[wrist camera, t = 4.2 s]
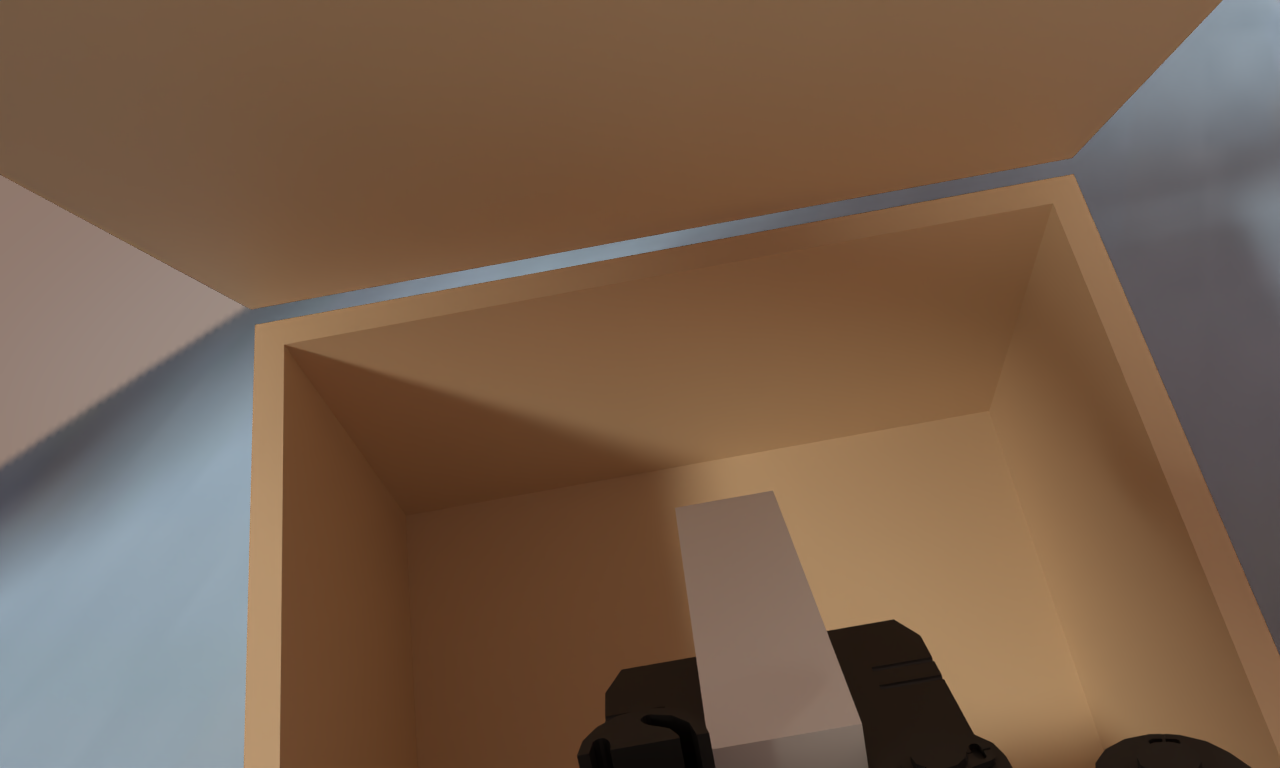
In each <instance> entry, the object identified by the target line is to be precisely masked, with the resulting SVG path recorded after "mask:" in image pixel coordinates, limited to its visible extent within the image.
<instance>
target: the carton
mask: <svg viewBox="0 0 1280 768" xmlns="http://www.w3.org/2000/svg"><path fill="white" fill-rule="evenodd" d="M767 491H773V492H774V494H775V497H776V500H777V502H778V505H779V507H780V510H781V513H782V515H783V518H784V521H785V523H786V526H787V528H788V531H789V534H790V536H791V539H792V542H793V544H794V547H795V549H796V552H797V555H798V557H799V560H800V563H801V565H802V568H803V570H804V573H805V576H806V578H807V581H808V584H809V586H810V589H811V591H812V594H813V597H814V599H815V602H816V605H817V607H818V610H819V612H820V615H821V618H822V620H823V623H824V625H825V628H826V631H829V630H835V629H841V628H846V627H852V626H858V625H864V624H869V623H875V622H881V621H887V620H892V619H894V620H896V621H898V622H899V623H901V624H903V625H904V626H906V627H907V628H909V629H911V630H912V631H914V632H916V633H917V634H919V635H920V636H921V637H922V639H923V641H924V643H925V645H926V647H927V648H928V650H929V652H930V654H931V656H932V659H933V661H935V663H936V665H937V667H938V669H939V670H940V672H941V674H942V678H943V679H944V680H945V682H946V683H947V685H948V687H949V689H950V691H951V693H952V694H953V696H954V698H955V700H956V702H957V704H958V705H959V707H960V709H961V711H962V713H963V715H964V716H965V718H966V720H967V722H968V724H969V726H970V727H971V729H972V731H973V733H974V734H975V735H977V736H979V737H981V738H983V739H986V740H988V741H990V742H992V743H994V744H995V745H996V746H997V747H998V748H999V749H1000V750H1001V751H1002V752H1003V753H1004V754H1005V755H1006V757H1007V759H1008V760H1009V762H1010V764H1011V766H1012V767H1013V768H1095V763H1096V761H1097V760H1098V759H1099V757H1100V756H1101V754H1102V753H1103V752H1104V750H1105V749H1106V748H1108V747H1110V746H1112V745H1114V744H1116V743H1118V742H1120V741H1122V740H1123V739H1127V738H1132V737H1137V736H1142V735H1147V734H1175V735H1182V736H1187V737H1191V738H1195V739H1200V740H1204V741H1207V742H1209V743H1211V744H1213V745H1216V746H1218V747H1220V748H1222V749H1224V750H1226V751H1228V752H1230V753H1231V754H1233V755H1234V756H1236V757H1237V758H1238V759H1240V760H1241V761H1243V762H1244V763H1246V764H1247V765H1249V766H1250V767H1251V768H1280V655H1279V653H1278V650H1277V648H1276V646H1275V643H1274V641H1273V639H1272V636H1271V634H1270V632H1269V629H1268V627H1267V625H1266V622H1265V620H1264V618H1263V615H1262V613H1261V611H1260V608H1259V606H1258V604H1257V601H1256V599H1255V597H1254V594H1253V592H1252V590H1251V587H1250V585H1249V583H1248V580H1247V578H1246V576H1245V573H1244V571H1243V569H1242V566H1241V564H1240V562H1239V559H1238V557H1237V555H1236V552H1235V550H1234V548H1233V545H1232V543H1231V541H1230V538H1229V536H1228V534H1227V531H1226V529H1225V527H1224V524H1223V522H1222V520H1221V517H1220V515H1219V513H1218V510H1217V508H1216V506H1215V503H1214V501H1213V499H1212V496H1211V494H1210V492H1209V489H1208V487H1207V485H1206V482H1205V480H1204V478H1203V475H1202V473H1201V471H1200V468H1199V466H1198V464H1197V461H1196V459H1195V457H1194V454H1193V452H1192V450H1191V447H1190V445H1189V443H1188V440H1187V438H1186V436H1185V433H1184V431H1183V429H1182V426H1181V424H1180V421H1179V419H1178V417H1177V414H1176V412H1175V410H1174V407H1173V405H1172V403H1171V400H1170V398H1169V396H1168V393H1167V391H1166V389H1165V386H1164V384H1163V382H1162V379H1161V377H1160V375H1159V372H1158V370H1157V368H1156V365H1155V363H1154V361H1153V358H1152V356H1151V354H1150V351H1149V349H1148V347H1147V344H1146V342H1145V340H1144V337H1143V335H1142V333H1141V330H1140V328H1139V326H1138V323H1137V321H1136V319H1135V316H1134V314H1133V312H1132V309H1131V307H1130V305H1129V302H1128V300H1127V298H1126V295H1125V293H1124V291H1123V288H1122V286H1121V284H1120V281H1119V279H1118V277H1117V274H1116V272H1115V270H1114V267H1113V265H1112V263H1111V260H1110V258H1109V256H1108V253H1107V251H1106V249H1105V246H1104V244H1103V242H1102V239H1101V237H1100V235H1099V232H1098V230H1097V228H1096V225H1095V223H1094V221H1093V218H1092V216H1091V214H1090V211H1089V209H1088V207H1087V204H1086V202H1085V200H1084V197H1083V195H1082V193H1081V190H1080V188H1079V186H1078V183H1077V181H1076V179H1075V176H1074V174H1071V175H1066V176H1060V177H1055V178H1050V179H1044V180H1039V181H1033V182H1028V183H1022V184H1017V185H1012V186H1006V187H1001V188H995V189H990V190H984V191H979V192H974V193H968V194H963V195H957V196H952V197H946V198H941V199H936V200H930V201H925V202H919V203H914V204H908V205H903V206H898V207H892V208H887V209H881V210H876V211H870V212H865V213H860V214H854V215H849V216H843V217H838V218H832V219H827V220H822V221H816V222H811V223H805V224H800V225H794V226H789V227H784V228H778V229H773V230H767V231H762V232H756V233H751V234H745V235H740V236H735V237H729V238H724V239H718V240H713V241H707V242H702V243H697V244H691V245H686V246H680V247H675V248H669V249H664V250H659V251H653V252H648V253H642V254H637V255H631V256H626V257H621V258H615V259H610V260H604V261H599V262H593V263H588V264H583V265H577V266H572V267H566V268H561V269H555V270H550V271H545V272H539V273H534V274H528V275H523V276H517V277H512V278H507V279H501V280H496V281H490V282H485V283H479V284H474V285H469V286H463V287H458V288H452V289H447V290H441V291H436V292H431V293H425V294H420V295H414V296H409V297H403V298H398V299H393V300H387V301H382V302H376V303H371V304H365V305H360V306H355V307H349V308H344V309H338V310H333V311H327V312H322V313H317V314H311V315H306V316H300V317H295V318H289V319H284V320H279V321H273V322H268V323H262V324H257V325H255V348H254V387H253V427H252V466H251V506H250V545H249V584H248V624H247V663H246V703H245V742H244V768H579V763H578V759H577V754H578V751H579V749H580V746H581V743H582V741H583V740H584V739H585V738H586V737H587V736H588V735H589V734H590V733H591V732H592V731H593V730H594V729H595V728H596V727H598V726H599V725H601V724H603V723H605V721H606V720H605V693H606V691H607V690H608V688H609V687H610V685H611V684H612V683H613V681H614V680H615V678H616V677H617V675H618V674H619V672H620V671H621V670H622V669H627V668H633V667H639V666H645V665H650V664H656V663H662V662H668V661H674V660H679V659H685V658H691V657H696V653H695V646H694V639H693V632H692V625H691V618H690V611H689V604H688V597H687V590H686V582H685V575H684V568H683V561H682V554H681V547H680V540H679V533H678V526H677V519H676V512H675V508H677V507H683V506H688V505H694V504H700V503H705V502H711V501H717V500H722V499H728V498H734V497H739V496H745V495H751V494H756V493H762V492H767Z"/></svg>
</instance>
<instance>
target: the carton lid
mask: <svg viewBox="0 0 1280 768" xmlns="http://www.w3.org/2000/svg"><path fill="white" fill-rule="evenodd" d="M1221 1H1222V0H0V175H2V176H3V177H5V178H8V179H9V180H11V181H13V182H15V183H16V184H18V185H20V186H22V187H24V188H26V189H28V190H29V191H31V192H33V193H35V194H37V195H39V196H41V197H43V198H45V199H46V200H48V201H50V202H52V203H54V204H56V205H57V206H59V207H61V208H63V209H65V210H67V211H69V212H70V213H72V214H74V215H76V216H78V217H80V218H82V219H84V220H85V221H87V222H89V223H91V224H93V225H95V226H97V227H98V228H100V229H102V230H104V231H106V232H108V233H109V234H111V235H113V236H115V237H117V238H119V239H121V240H123V241H125V242H126V243H128V244H130V245H132V246H134V247H136V248H137V249H139V250H141V251H143V252H145V253H147V254H149V255H150V256H152V257H154V258H156V259H158V260H160V261H162V262H163V263H165V264H167V265H169V266H171V267H173V268H175V269H176V270H178V271H180V272H182V273H184V274H186V275H188V276H190V277H191V278H193V279H195V280H197V281H199V282H201V283H203V284H204V285H206V286H208V287H210V288H212V289H214V290H216V291H217V292H219V293H221V294H223V295H225V296H227V297H229V298H230V299H232V300H234V301H236V302H238V303H240V304H242V305H243V306H245V307H247V308H249V309H257V308H262V307H267V306H273V305H278V304H284V303H289V302H295V301H300V300H305V299H311V298H316V297H322V296H327V295H332V294H338V293H343V292H349V291H354V290H360V289H365V288H370V287H376V286H381V285H387V284H392V283H398V282H403V281H408V280H414V279H419V278H425V277H430V276H435V275H441V274H446V273H452V272H457V271H463V270H468V269H473V268H479V267H484V266H490V265H495V264H501V263H506V262H511V261H517V260H522V259H528V258H533V257H538V256H544V255H549V254H555V253H560V252H566V251H571V250H576V249H582V248H587V247H593V246H598V245H604V244H609V243H614V242H620V241H625V240H631V239H636V238H641V237H647V236H652V235H658V234H663V233H669V232H674V231H679V230H685V229H690V228H696V227H701V226H707V225H712V224H717V223H723V222H728V221H734V220H739V219H744V218H750V217H755V216H761V215H766V214H772V213H777V212H782V211H788V210H793V209H799V208H804V207H809V206H815V205H820V204H826V203H831V202H837V201H842V200H847V199H853V198H858V197H864V196H869V195H875V194H880V193H885V192H891V191H896V190H902V189H907V188H912V187H918V186H923V185H929V184H934V183H940V182H945V181H950V180H956V179H961V178H967V177H972V176H978V175H983V174H988V173H994V172H999V171H1005V170H1010V169H1015V168H1021V167H1026V166H1032V165H1037V164H1043V163H1048V162H1053V161H1059V160H1064V159H1070V158H1073V157H1074V156H1075V155H1076V154H1077V153H1078V152H1079V150H1080V149H1081V148H1082V147H1083V146H1084V145H1085V144H1086V143H1087V142H1088V141H1089V140H1090V139H1091V138H1092V137H1093V136H1094V135H1095V134H1096V133H1097V132H1098V131H1099V129H1100V128H1101V127H1102V126H1103V125H1104V124H1105V123H1106V122H1107V121H1108V120H1109V119H1110V118H1111V117H1112V116H1113V115H1114V114H1115V113H1116V112H1117V111H1118V110H1119V108H1120V107H1121V106H1122V105H1123V104H1124V103H1125V102H1126V101H1127V100H1128V99H1129V98H1130V97H1131V96H1132V95H1133V94H1134V93H1135V92H1136V91H1137V90H1138V89H1139V87H1140V86H1141V85H1142V84H1143V83H1144V82H1145V81H1146V80H1147V79H1148V78H1149V77H1150V76H1151V75H1152V74H1153V73H1154V72H1155V71H1156V70H1157V69H1158V68H1159V66H1160V65H1161V64H1162V63H1163V62H1164V61H1165V60H1166V59H1167V58H1168V57H1169V56H1170V55H1171V54H1172V53H1173V52H1174V51H1175V50H1176V49H1177V48H1178V47H1179V45H1180V44H1181V43H1182V42H1183V41H1184V40H1185V39H1186V38H1187V37H1188V36H1189V35H1190V34H1191V33H1192V32H1193V31H1194V30H1195V29H1196V28H1197V27H1198V26H1199V24H1200V23H1201V22H1202V21H1203V20H1204V19H1205V18H1206V17H1207V16H1208V15H1209V14H1210V13H1211V12H1212V11H1213V10H1214V9H1215V8H1216V7H1217V6H1218V5H1219V4H1220V2H1221Z"/></svg>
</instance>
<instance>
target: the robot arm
mask: <svg viewBox="0 0 1280 768" xmlns="http://www.w3.org/2000/svg"><path fill="white" fill-rule="evenodd" d="M675 512H676V519H677V526H678V533H679V540H680V547H681V554H682V561H683V568H684V575H685V582H686V590H687V597H688V604H689V611H690V618H691V625H692V632H693V639H694V646H695V653H696V657H691V658H685V659H679V660H674V661H668V662H662V663H656V664H650V665H645V666H639V667H633V668H627V669H622V670H621V671H620V672H619V674H618V675H617V677H616V678H615V680H614V681H613V683H612V684H611V685H610V687H609V688H608V690H607V691H606V693H605V720H606V721H605V723H603V724H601V725H599V726H598V727H596V728H595V729H594V730H593V731H592V732H591V733H590V734H589V735H588V736H587V737H586V738H585V739H584V740H583V741H582V743H581V746H580V749H579V751H578V754H577V759H578V763H579V768H1013V767H1012V766H1011V764H1010V762H1009V760H1008V759H1007V757H1006V755H1005V754H1004V753H1003V752H1002V751H1001V750H1000V749H999V748H998V747H997V746H996V745H995V744H994V743H992V742H990V741H988V740H986V739H983V738H981V737H979V736H977V735H975V734H974V733H973V731H972V729H971V727H970V726H969V724H968V722H967V720H966V718H965V716H964V715H963V713H962V711H961V709H960V707H959V705H958V704H957V702H956V700H955V698H954V696H953V694H952V693H951V691H950V689H949V687H948V685H947V683H946V682H945V680H944V679H943V678H942V674H941V672H940V670H939V669H938V667H937V665H936V663H935V661H933V659H932V656H931V654H930V652H929V650H928V648H927V647H926V645H925V643H924V641H923V639H922V637H921V636H920V635H919V634H917V633H916V632H914V631H912V630H911V629H909V628H907V627H906V626H904V625H903V624H901V623H899V622H898V621H896V620H894V619H892V620H887V621H881V622H875V623H869V624H864V625H858V626H852V627H846V628H841V629H835V630H829V631H826V628H825V625H824V623H823V620H822V618H821V615H820V612H819V610H818V607H817V605H816V602H815V599H814V597H813V594H812V591H811V589H810V586H809V584H808V581H807V578H806V576H805V573H804V570H803V568H802V565H801V563H800V560H799V557H798V555H797V552H796V549H795V547H794V544H793V542H792V539H791V536H790V534H789V531H788V528H787V526H786V523H785V521H784V518H783V515H782V513H781V510H780V507H779V505H778V502H777V500H776V497H775V494H774V492H773V491H767V492H762V493H756V494H751V495H745V496H739V497H734V498H728V499H722V500H717V501H711V502H705V503H700V504H694V505H688V506H683V507H677V508H675ZM1095 768H1251V767H1250V766H1249V765H1247V764H1246V763H1244V762H1243V761H1241V760H1240V759H1238V758H1237V757H1236V756H1234V755H1233V754H1231V753H1230V752H1228V751H1226V750H1224V749H1222V748H1220V747H1218V746H1216V745H1213V744H1211V743H1209V742H1207V741H1204V740H1200V739H1195V738H1191V737H1187V736H1182V735H1175V734H1147V735H1142V736H1137V737H1132V738H1127V739H1123V740H1122V741H1120V742H1118V743H1116V744H1114V745H1112V746H1110V747H1108V748H1106V749H1105V750H1104V752H1103V753H1102V754H1101V756H1100V757H1099V759H1098V760H1097V761H1096V763H1095Z"/></svg>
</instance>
